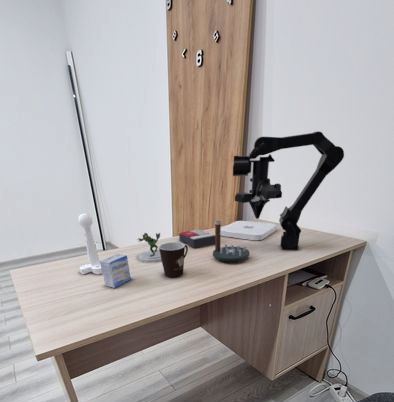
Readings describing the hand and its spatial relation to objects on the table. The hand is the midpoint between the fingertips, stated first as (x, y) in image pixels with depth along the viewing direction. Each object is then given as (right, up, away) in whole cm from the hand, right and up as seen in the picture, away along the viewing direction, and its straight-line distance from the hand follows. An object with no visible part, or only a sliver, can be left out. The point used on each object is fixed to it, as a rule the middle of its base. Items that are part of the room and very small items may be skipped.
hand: (257, 218), depth 120 cm
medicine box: (-50, -28, -20) cm, 61 cm away
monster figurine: (-42, -15, +1) cm, 44 cm away
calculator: (-24, -6, +16) cm, 29 cm away
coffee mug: (-31, -24, -15) cm, 42 cm away
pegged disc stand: (-11, -16, -5) cm, 20 cm away
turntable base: (-11, -17, -4) cm, 21 cm away
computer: (+1, +2, +26) cm, 26 cm away
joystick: (-60, -23, -11) cm, 66 cm away
